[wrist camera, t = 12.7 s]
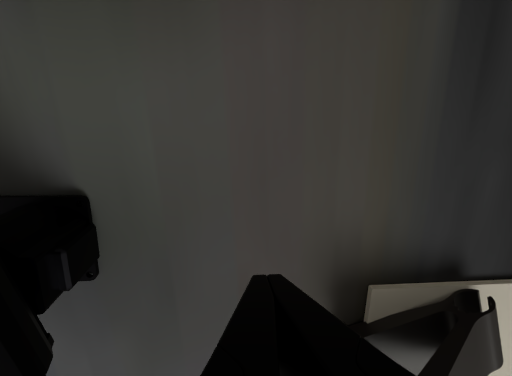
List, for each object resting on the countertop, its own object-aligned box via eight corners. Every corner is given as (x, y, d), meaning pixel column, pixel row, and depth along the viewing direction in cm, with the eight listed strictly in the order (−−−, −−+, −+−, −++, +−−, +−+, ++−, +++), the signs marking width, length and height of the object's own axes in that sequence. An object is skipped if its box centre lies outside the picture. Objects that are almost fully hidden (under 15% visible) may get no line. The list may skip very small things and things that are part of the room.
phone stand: (333, 330, 25) (436, 269, 28) (350, 379, 27) (445, 317, 29) (417, 427, 17) (554, 326, 19) (435, 491, 18) (559, 389, 21)
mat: (347, 440, 29) (349, 447, 28) (368, 285, 24) (372, 289, 24) (489, 426, 31) (494, 432, 30) (534, 278, 26) (542, 282, 26)
